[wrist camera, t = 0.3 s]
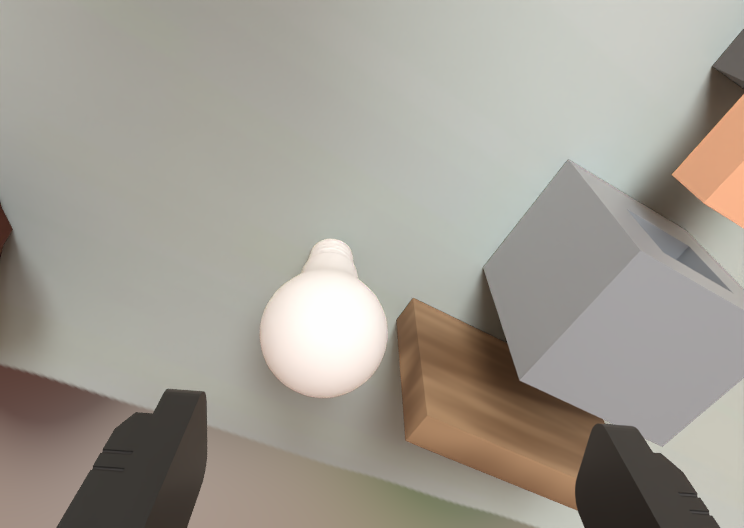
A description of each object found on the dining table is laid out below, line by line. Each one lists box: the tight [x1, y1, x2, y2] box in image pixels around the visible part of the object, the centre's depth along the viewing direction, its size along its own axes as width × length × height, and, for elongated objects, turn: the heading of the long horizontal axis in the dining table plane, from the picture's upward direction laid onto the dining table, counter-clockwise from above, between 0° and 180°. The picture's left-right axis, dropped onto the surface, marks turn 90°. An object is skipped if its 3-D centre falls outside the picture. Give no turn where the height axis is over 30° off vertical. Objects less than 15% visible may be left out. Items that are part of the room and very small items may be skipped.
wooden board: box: [396, 298, 605, 510], centre depth 35 cm, size 2×14×10 cm, turn 60°
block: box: [483, 159, 744, 447], centre depth 31 cm, size 8×9×10 cm
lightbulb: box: [260, 239, 388, 398], centre depth 31 cm, size 6×6×11 cm
